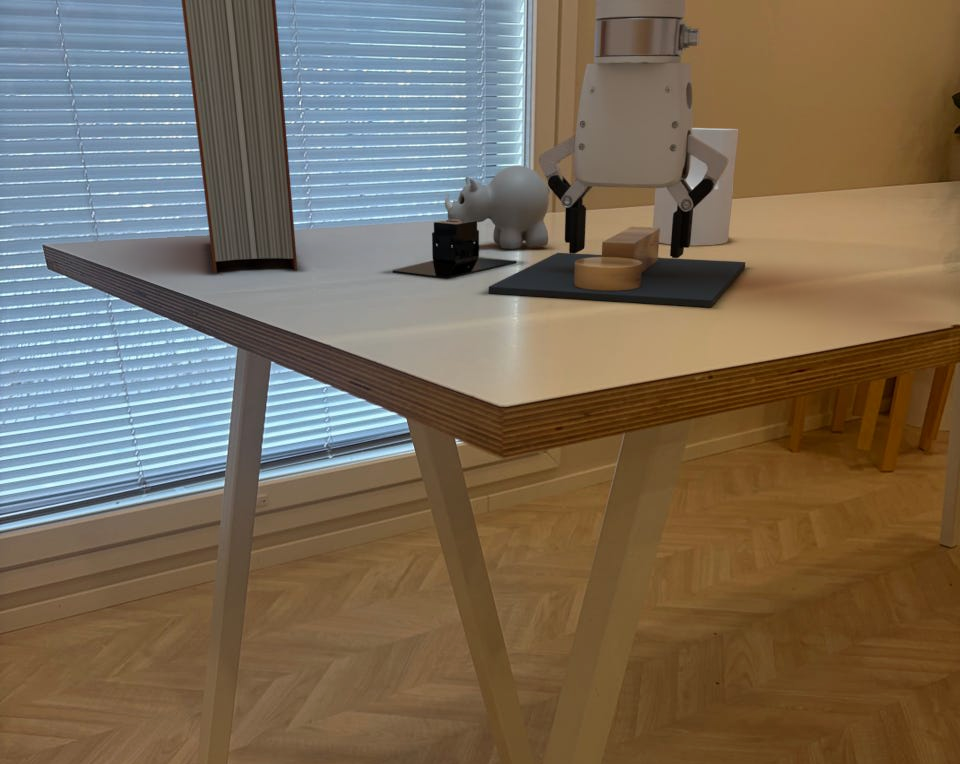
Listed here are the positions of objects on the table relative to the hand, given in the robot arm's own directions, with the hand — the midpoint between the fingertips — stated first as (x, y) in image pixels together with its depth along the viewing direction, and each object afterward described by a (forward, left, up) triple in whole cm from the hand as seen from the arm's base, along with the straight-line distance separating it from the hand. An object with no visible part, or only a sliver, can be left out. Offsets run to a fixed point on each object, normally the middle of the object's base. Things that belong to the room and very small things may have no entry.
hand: (626, 253), depth 97 cm
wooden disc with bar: (0, 0, -2) cm, 2 cm away
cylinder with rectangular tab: (-1, -31, -3) cm, 31 cm away
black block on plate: (+18, -2, -3) cm, 19 cm away
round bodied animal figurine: (+19, -18, -3) cm, 26 cm away
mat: (0, -1, -3) cm, 3 cm away
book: (+43, -2, -3) cm, 43 cm away
